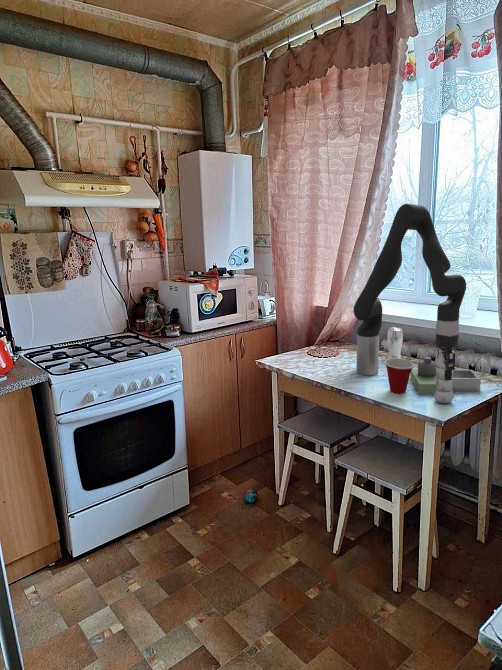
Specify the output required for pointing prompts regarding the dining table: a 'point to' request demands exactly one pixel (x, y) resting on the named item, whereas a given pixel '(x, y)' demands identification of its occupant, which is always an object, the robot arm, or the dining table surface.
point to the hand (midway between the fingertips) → (444, 376)
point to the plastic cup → (398, 374)
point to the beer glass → (395, 342)
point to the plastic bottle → (442, 383)
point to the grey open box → (465, 381)
